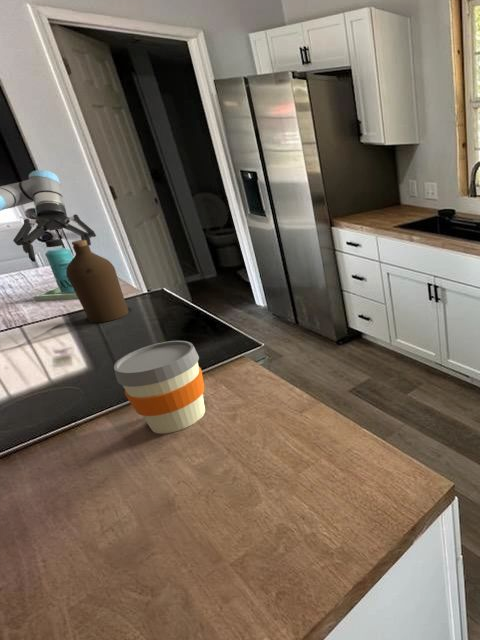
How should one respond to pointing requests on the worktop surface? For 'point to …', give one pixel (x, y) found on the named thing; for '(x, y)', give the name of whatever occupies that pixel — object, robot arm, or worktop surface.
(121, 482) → the worktop surface
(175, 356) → the reusable coffee cup
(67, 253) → the beverage bottle
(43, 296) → the back pad
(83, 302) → the brown jug bottle
